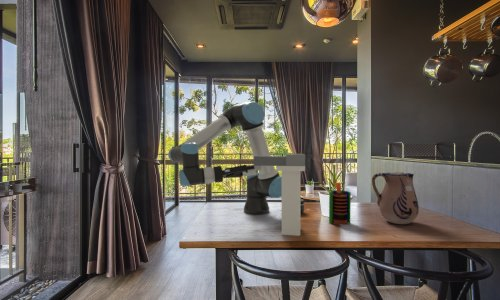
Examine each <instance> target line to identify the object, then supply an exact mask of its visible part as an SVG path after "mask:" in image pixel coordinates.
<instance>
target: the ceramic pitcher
mask: <svg viewBox="0 0 500 300" xmlns="http://www.w3.org/2000/svg"><path fill="white" fill-rule="evenodd" d="M378 177H382V178H383V179H384V180H385V184H384V188H383V190H382V191H381V193H380V192H379V191H378V188H377V186H376V179H377V178H378ZM413 179H414V173H411V172H410V173H409V172H407V173H404V172H399V171H397V172H377V173H375V174H373V176H372V178H371V186H372V188H373V190H374V193H375V195H376V197H377V202H376V203H377V206H378V207H379V212H380V214H381V216H382V217H383V218H384V220H386V221H387V222H388V223H392V224H396V225H408V224H411V223H412V222H414V221H415V220H416V219H417V217H418V214H419V213H420V212H419V207H420V206H419V202H418V198H417V194H416V190H415V187H414V182H413V181H414V180H413Z"/></svg>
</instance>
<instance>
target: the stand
mask: <svg viewBox="0 0 500 300" xmlns="http://www.w3.org/2000/svg"><path fill="white" fill-rule="evenodd" d="M275 169H276V171H278V172H281V177H282V196H281V236H299V237H300V236H301V230H302V229H301V226H302V225H301V222H302V221H301V218H302V216H301V215H302V214H301V199H302V198H301V191H302V190H301V186H302V183H301V182H302V181H301V172H305V171H306V165H305V166H275Z"/></svg>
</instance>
